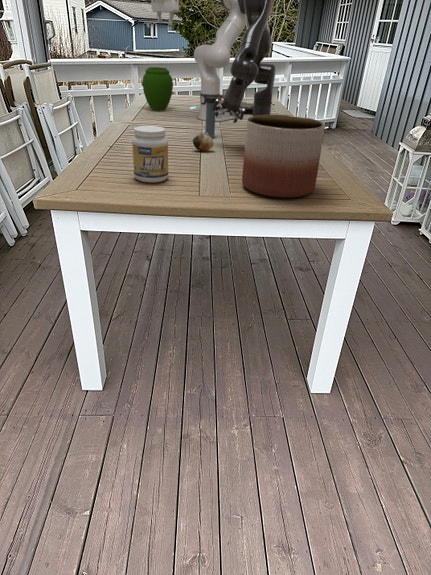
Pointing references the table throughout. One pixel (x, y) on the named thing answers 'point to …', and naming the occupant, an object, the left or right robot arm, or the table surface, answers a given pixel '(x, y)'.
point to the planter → (282, 155)
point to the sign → (247, 108)
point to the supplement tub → (150, 154)
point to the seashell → (203, 142)
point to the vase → (157, 88)
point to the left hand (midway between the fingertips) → (165, 23)
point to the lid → (210, 99)
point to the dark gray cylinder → (210, 119)
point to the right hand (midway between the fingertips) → (225, 118)
